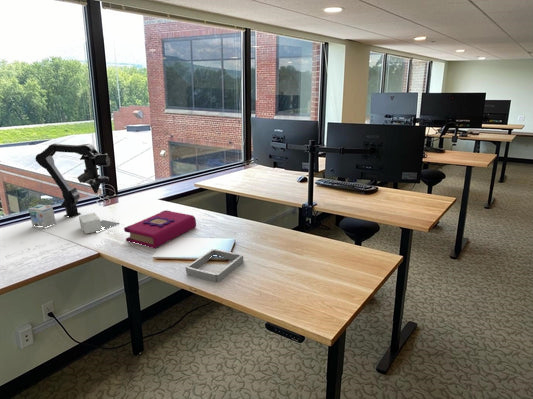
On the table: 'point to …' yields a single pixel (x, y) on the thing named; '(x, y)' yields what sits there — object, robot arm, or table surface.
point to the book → (160, 228)
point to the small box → (90, 223)
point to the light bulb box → (42, 215)
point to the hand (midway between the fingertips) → (96, 193)
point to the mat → (107, 224)
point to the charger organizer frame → (238, 260)
